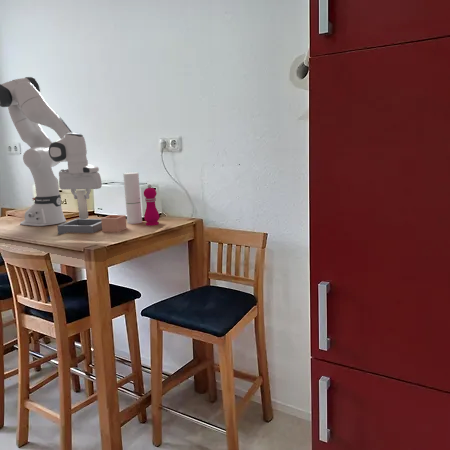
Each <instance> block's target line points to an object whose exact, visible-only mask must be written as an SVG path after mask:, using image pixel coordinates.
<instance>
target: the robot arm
mask: <svg viewBox="0 0 450 450" xmlns="http://www.w3.org/2000/svg"><path fill="white" fill-rule="evenodd" d="M41 94H42V89H41V85H40V83H39V82H38V80H37V79H36V78H35V77H33V76H26V77H22V78H17V79H16V78H14V79H12V80H9V81H6V82H4V83H1V84H0V107H2V108H8V113H9V115H10V119H11V122H12V123H13V126H14V127H15V129H16V131H17V133H18V135H19V137H20V139H21V140H22V141H23V142H24V143H25V144H26V145H28V147H30V148H28V149H26V151H25V152H24V153H23V155H22V160H23V163H24V165H25V166H26V167H27V168H28V169H29V170H30V173H31V176H32V179H33V181H34V186H35V187H34V188H35V194H36V195H35V197H32V201H34V202H33V204H32V205H31V206H30V207H29V208H28V209H27V210H26V211H25V212H24V220H22V221H20V225H24V226H33V227H34V226H35V227H44V226H50V225H60V224H63V223H66V222H67V219H66V217H65V215H64V212H63V208H62V207H63V206H62V196H61V194H60V190H70V191H71V193H72V195H73V198H74V200H77V192H76V191H77V190H85V191H86V195H84V197H85V199H86V200H88V199H90V195H91V191H92V190H99V189H101V188H102V184H103V183H102V178H101V174H100V173H99V171H100V170H99V169H100V168H99V167H98V166H96V165H92V164H91V163H90V164H89V162H88V158H87V154H88V153H87V151H88V150H87V144H86V143H87V142H86V140H85V137H84V135H83V134H82V133H79V132H73V131H72V130H71V129H70V128H69V126H68V125H67V124H66V123H65V121H64V120H63V119H62V118H61V116H60V115H59V114H58V113H57V112H55V111H54V110H53V109H52V108H51V107H50V106H49V104H48V103H47V102H46V100H45V98H44V97H43V96H42V95H41ZM42 126H44V127H48V128H50V129H52V131H54V132H55V133H56V134H57V136H58V137H59V138H60V139H58V140H56V141H51V139H50V138H49V137H48V135H47V134H46V133H45V132H44V130H43V128H42ZM63 162H65V163H66V162H67V168H65V169H64V168H62V169H60V170H59V171H58V177H57V176H55V174H54V171H53V169H52V167H53V168H54V167H56V166H57V165H59V164H61V163H63Z"/></svg>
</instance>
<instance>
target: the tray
mask: <svg viewBox="0 0 450 450" xmlns="http://www.w3.org/2000/svg"><path fill="white" fill-rule="evenodd" d="M56 228H57V229H56V230H57V235H65V234H67V233H73V234H74V233H76V234H77V233H78V234H80V233H81V234H86V233H87V234H94V233H96V232H99V231H100V230H102V222H101V218H87V219H80V218H75V219H72V220H69V221H65V222H63V223H59V224H56Z"/></svg>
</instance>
